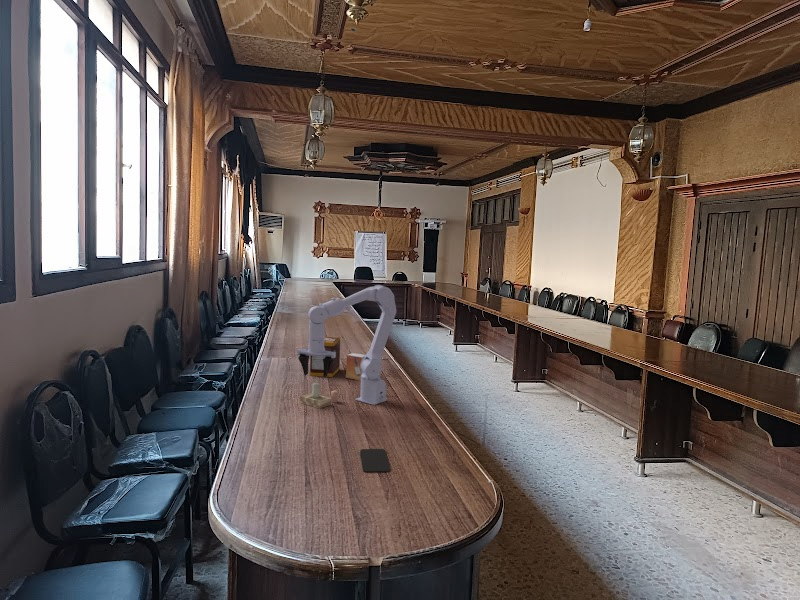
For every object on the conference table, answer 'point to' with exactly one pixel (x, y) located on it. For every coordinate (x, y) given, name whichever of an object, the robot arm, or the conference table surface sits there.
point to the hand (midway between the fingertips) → (315, 375)
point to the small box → (354, 366)
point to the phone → (374, 460)
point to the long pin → (315, 390)
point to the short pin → (334, 396)
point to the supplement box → (317, 362)
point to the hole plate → (315, 400)
